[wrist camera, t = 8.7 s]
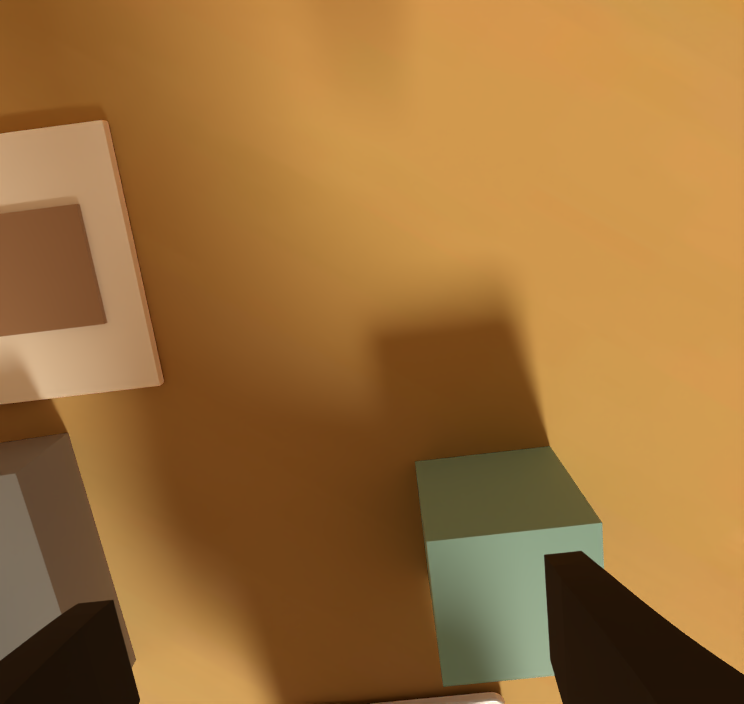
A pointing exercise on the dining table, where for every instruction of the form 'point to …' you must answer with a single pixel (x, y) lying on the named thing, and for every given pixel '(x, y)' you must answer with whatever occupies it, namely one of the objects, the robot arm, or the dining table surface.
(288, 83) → the dining table surface
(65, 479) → the base block
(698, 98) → the dining table surface
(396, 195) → the dining table surface
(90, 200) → the card
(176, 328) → the dining table surface
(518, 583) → the teal block
